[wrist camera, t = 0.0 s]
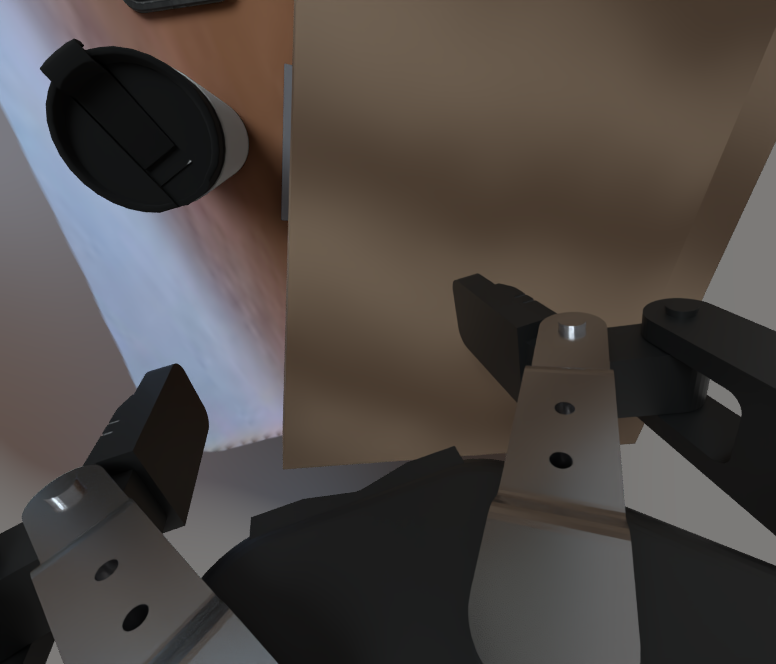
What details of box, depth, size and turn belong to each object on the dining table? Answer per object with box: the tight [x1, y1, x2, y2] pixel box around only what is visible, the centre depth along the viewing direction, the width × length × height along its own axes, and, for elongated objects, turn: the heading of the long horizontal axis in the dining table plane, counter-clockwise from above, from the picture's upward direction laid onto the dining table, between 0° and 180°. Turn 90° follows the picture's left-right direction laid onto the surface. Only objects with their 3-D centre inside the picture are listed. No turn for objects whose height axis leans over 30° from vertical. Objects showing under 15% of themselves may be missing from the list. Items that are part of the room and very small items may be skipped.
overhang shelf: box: [283, 0, 776, 469], centre depth 25 cm, size 20×16×28 cm
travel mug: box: [40, 39, 249, 213], centre depth 25 cm, size 6×7×20 cm
